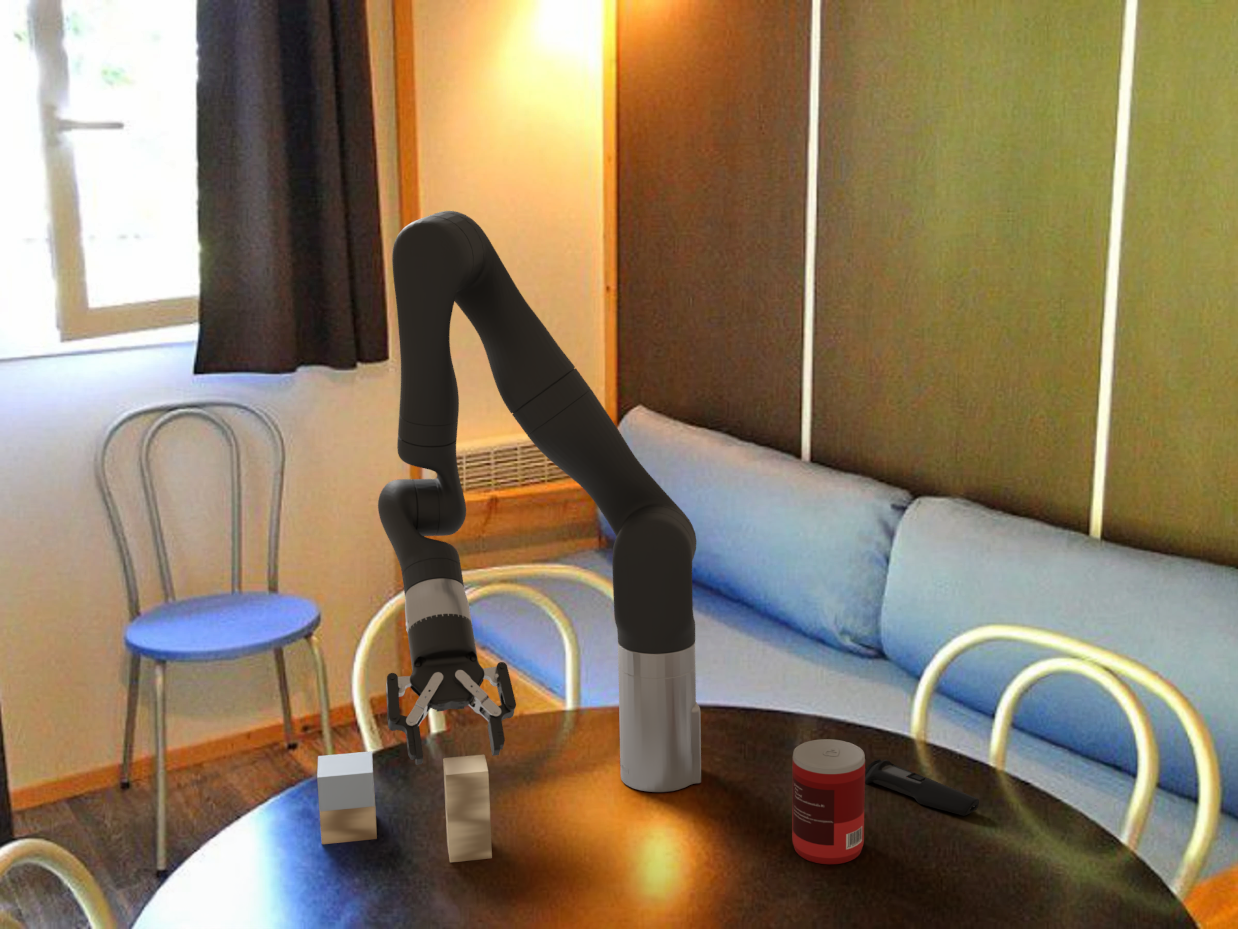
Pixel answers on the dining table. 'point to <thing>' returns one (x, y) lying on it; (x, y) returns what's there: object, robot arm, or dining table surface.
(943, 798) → the electric trimmer
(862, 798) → the canned food
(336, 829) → the tower base
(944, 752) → the dining table surface
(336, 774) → the tower mid
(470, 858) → the maple block
